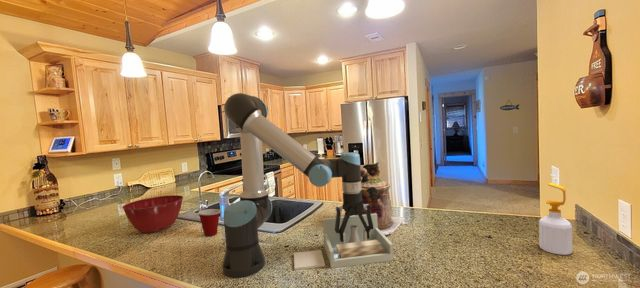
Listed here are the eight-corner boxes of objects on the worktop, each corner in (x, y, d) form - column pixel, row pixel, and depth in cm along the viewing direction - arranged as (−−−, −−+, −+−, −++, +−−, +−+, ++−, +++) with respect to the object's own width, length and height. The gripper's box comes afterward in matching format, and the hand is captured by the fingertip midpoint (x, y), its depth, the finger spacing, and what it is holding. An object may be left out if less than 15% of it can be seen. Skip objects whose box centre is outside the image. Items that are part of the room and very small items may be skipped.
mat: (294, 270, 96) (294, 268, 96) (293, 254, 107) (293, 252, 107) (325, 266, 97) (325, 264, 97) (321, 251, 109) (320, 249, 109)
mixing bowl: (122, 229, 151) (119, 202, 150) (178, 216, 169) (176, 192, 168) (128, 244, 129) (124, 212, 128) (191, 227, 148) (189, 199, 147)
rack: (331, 268, 96) (329, 235, 95) (324, 246, 113) (322, 218, 112) (393, 260, 98) (392, 228, 98) (377, 240, 116) (376, 213, 115)
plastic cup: (225, 234, 134) (223, 210, 134) (202, 240, 128) (200, 215, 127) (219, 228, 143) (217, 206, 142) (197, 234, 136) (195, 211, 136)
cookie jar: (362, 214, 151) (359, 158, 150) (406, 221, 137) (403, 159, 135) (339, 229, 131) (336, 164, 130) (388, 239, 117) (384, 166, 115)
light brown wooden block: (339, 265, 97) (338, 249, 97) (337, 260, 101) (336, 244, 101) (383, 259, 100) (383, 243, 100) (379, 254, 104) (379, 239, 104)
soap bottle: (541, 242, 105) (540, 180, 104) (572, 248, 99) (572, 182, 98) (537, 250, 99) (536, 184, 98) (571, 258, 93) (570, 187, 91)
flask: (364, 255, 103) (362, 230, 103) (345, 254, 105) (343, 229, 104) (364, 247, 110) (363, 223, 110) (347, 246, 112) (345, 223, 111)
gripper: (327, 196, 101) (331, 255, 103) (380, 191, 104) (383, 249, 105) (324, 191, 109) (328, 246, 110) (374, 187, 111) (377, 241, 113)
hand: (355, 247), depth 108 cm, fingers open, 8 cm apart
